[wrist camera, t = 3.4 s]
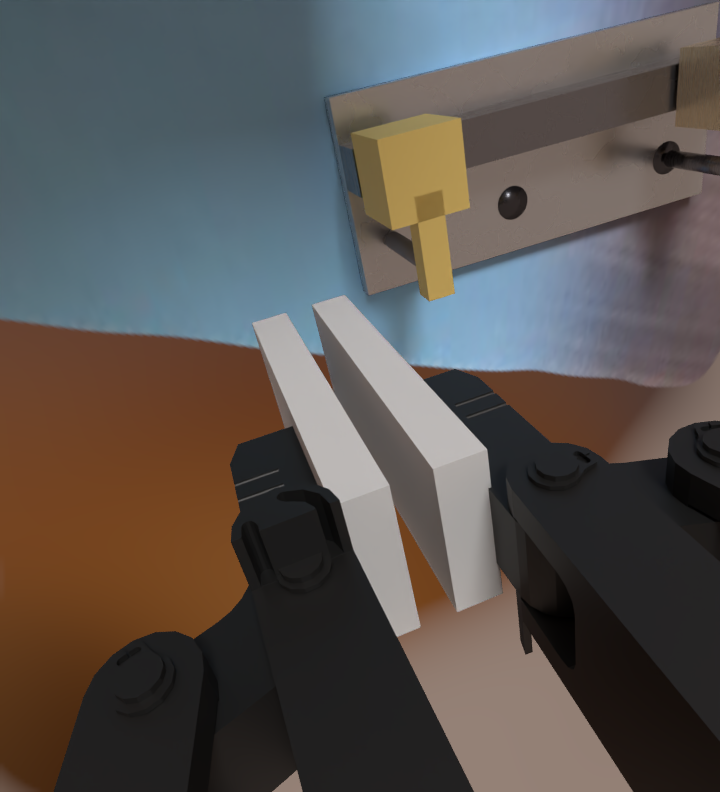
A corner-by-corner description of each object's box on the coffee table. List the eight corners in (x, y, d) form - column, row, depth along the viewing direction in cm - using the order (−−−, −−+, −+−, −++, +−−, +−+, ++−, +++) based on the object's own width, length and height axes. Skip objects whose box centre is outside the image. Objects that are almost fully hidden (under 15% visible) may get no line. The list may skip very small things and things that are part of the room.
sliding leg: (366, 274, 36) (405, 309, 30) (337, 129, 32) (377, 139, 26) (428, 255, 36) (477, 286, 31) (408, 111, 32) (461, 117, 27)
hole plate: (363, 290, 38) (410, 335, 31) (324, 97, 32) (370, 102, 25) (690, 190, 42) (792, 211, 35) (705, 3, 36) (831, -14, 29)
